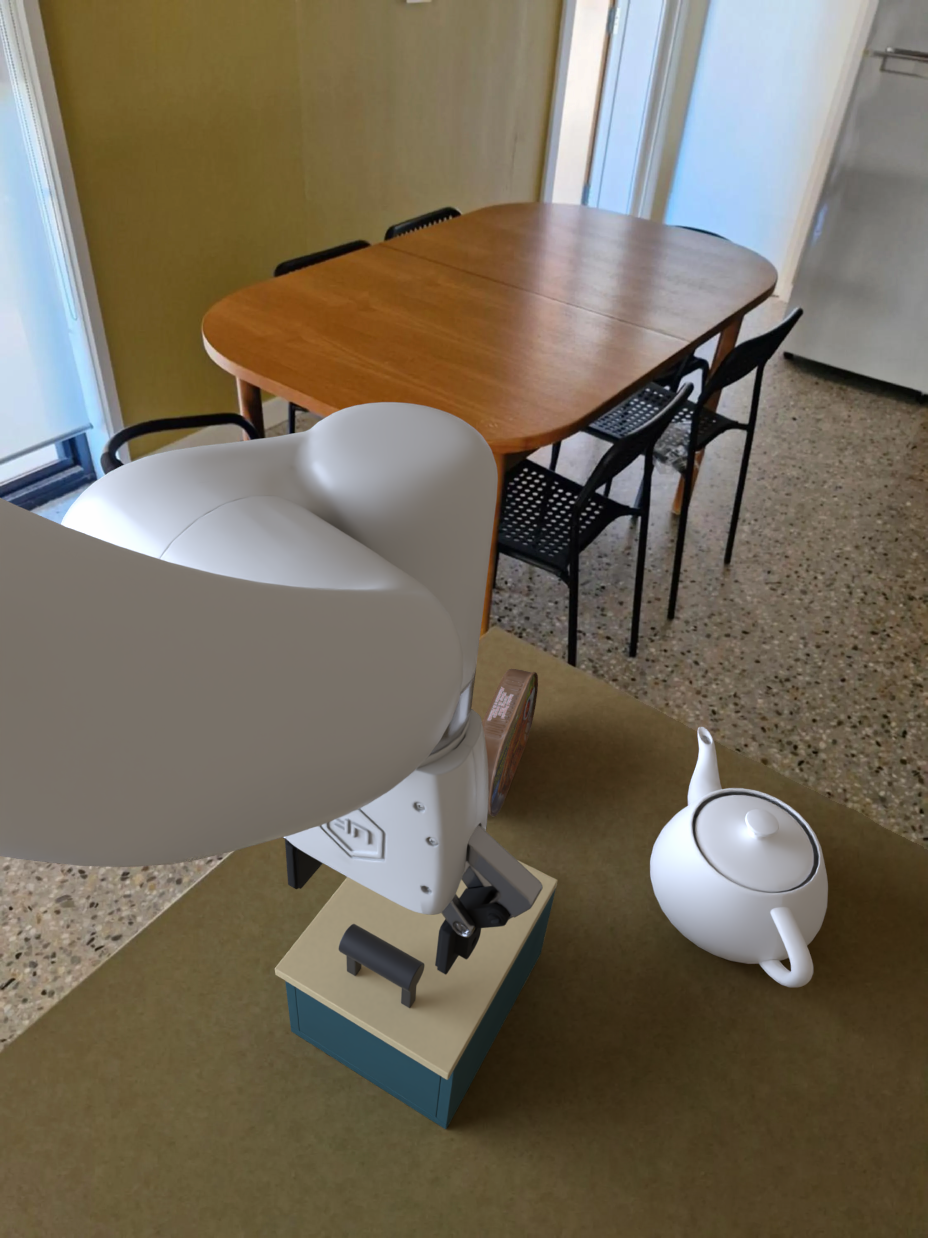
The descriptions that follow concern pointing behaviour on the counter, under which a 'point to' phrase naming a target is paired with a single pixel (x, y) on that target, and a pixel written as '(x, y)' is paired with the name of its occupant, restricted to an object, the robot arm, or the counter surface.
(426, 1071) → the teal open box
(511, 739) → the tin
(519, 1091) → the counter surface
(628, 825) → the counter surface
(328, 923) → the lid
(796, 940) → the teapot
